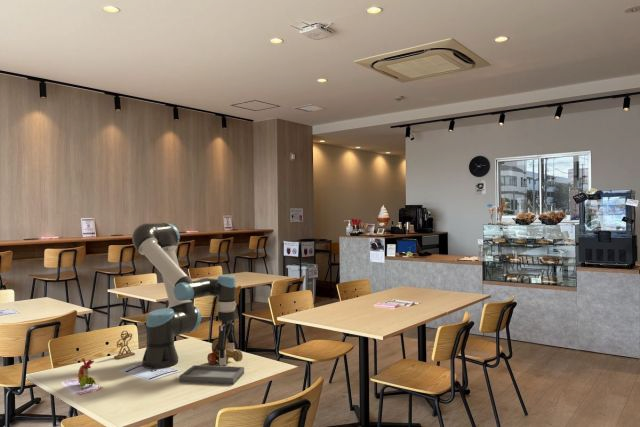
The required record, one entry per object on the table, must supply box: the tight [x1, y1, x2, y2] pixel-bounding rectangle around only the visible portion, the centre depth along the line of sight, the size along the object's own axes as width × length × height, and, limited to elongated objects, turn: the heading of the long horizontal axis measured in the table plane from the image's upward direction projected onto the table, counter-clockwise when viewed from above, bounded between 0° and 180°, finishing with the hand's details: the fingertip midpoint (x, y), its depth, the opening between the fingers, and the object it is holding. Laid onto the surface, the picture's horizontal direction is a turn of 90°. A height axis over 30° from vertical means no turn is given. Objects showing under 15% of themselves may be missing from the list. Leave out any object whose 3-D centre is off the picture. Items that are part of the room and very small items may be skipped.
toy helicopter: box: [207, 338, 243, 366], centre depth 212 cm, size 8×21×14 cm, turn 46°
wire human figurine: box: [113, 330, 136, 360], centre depth 227 cm, size 9×4×12 cm, turn 149°
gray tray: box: [179, 364, 245, 386], centre depth 196 cm, size 22×14×2 cm, turn 82°
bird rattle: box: [77, 357, 97, 388], centre depth 188 cm, size 6×11×9 cm
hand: (226, 361), depth 214 cm, fingers open, 10 cm apart
